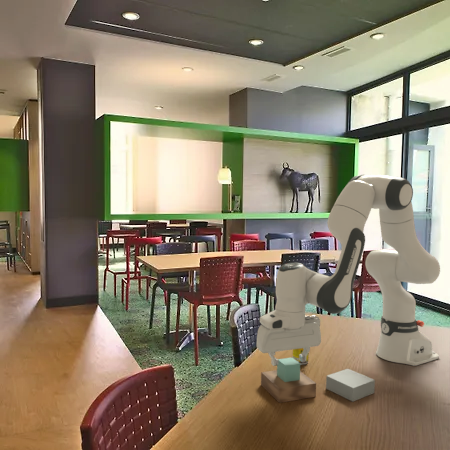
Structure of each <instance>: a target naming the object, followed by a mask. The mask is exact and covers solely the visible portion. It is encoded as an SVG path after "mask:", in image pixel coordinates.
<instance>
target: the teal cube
mask: <svg viewBox="0 0 450 450" xmlns="http://www.w3.org/2000/svg"><path fill="white" fill-rule="evenodd" d="M277 359H278V360H279V362H278V365H277V366H276V370H277V376H278V377H279V378H281V379H282V380H283V381H284V382H289V381H296V380H300V371H301V365H300V363H299V362H298V361H296V360H295V359H293V356H292V357H285V358H277Z"/></svg>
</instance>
